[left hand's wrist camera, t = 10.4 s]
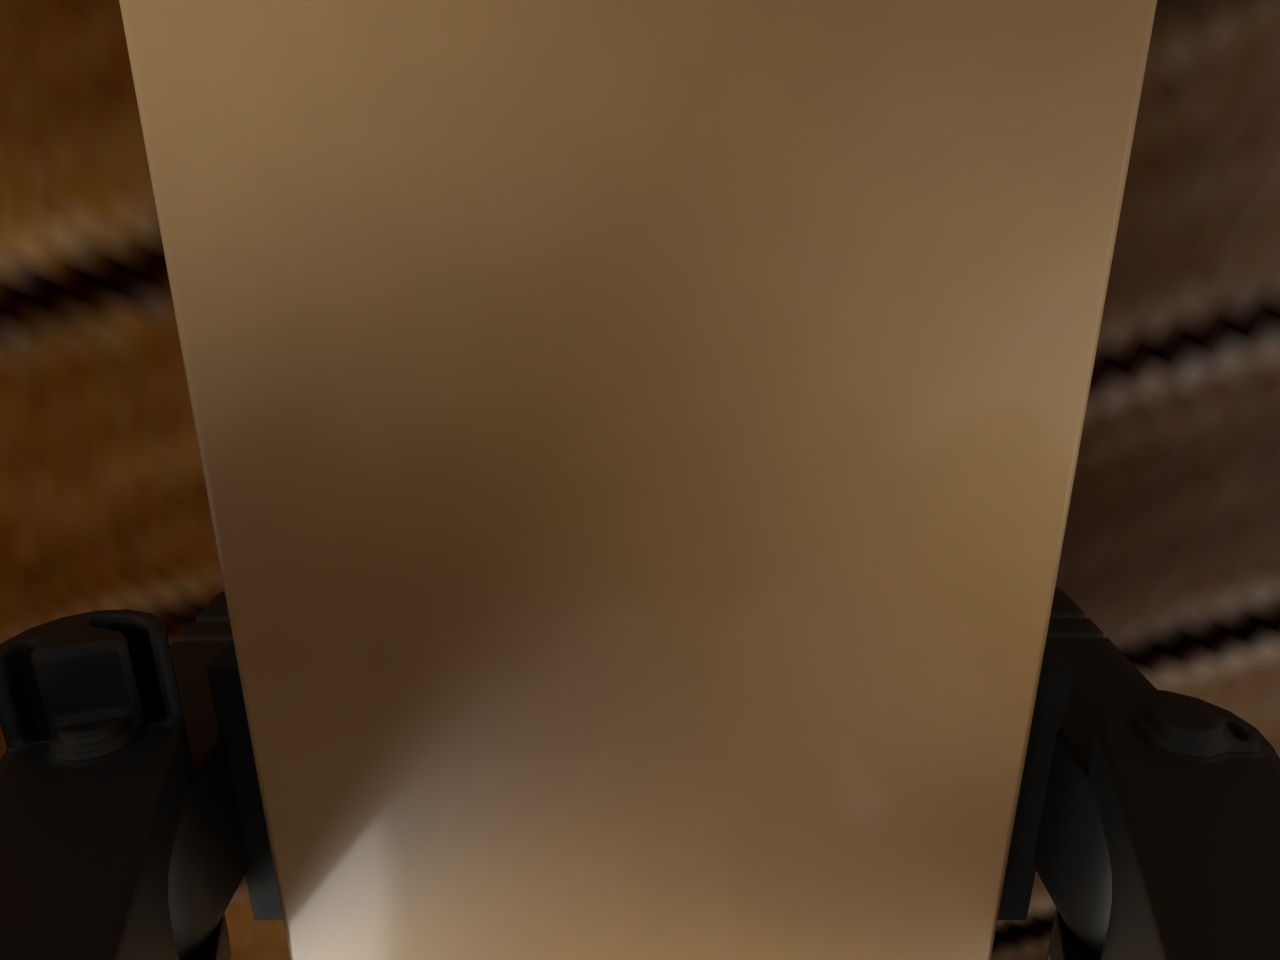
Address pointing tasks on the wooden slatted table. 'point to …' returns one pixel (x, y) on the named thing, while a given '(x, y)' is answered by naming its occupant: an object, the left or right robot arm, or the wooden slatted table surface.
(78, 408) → the wooden slatted table surface
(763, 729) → the post
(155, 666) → the left robot arm
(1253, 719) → the wooden slatted table surface
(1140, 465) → the wooden slatted table surface
